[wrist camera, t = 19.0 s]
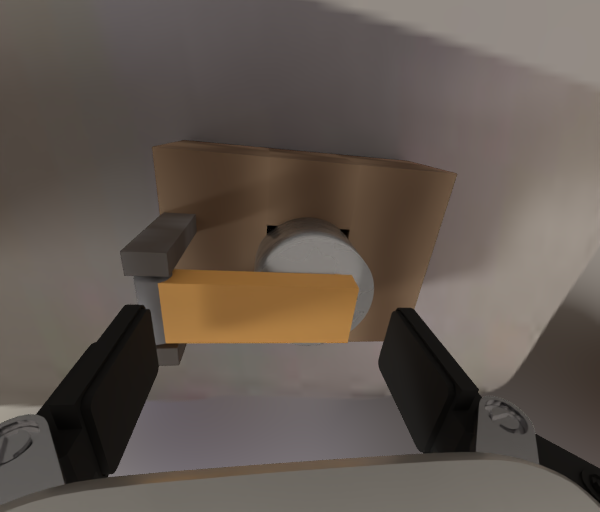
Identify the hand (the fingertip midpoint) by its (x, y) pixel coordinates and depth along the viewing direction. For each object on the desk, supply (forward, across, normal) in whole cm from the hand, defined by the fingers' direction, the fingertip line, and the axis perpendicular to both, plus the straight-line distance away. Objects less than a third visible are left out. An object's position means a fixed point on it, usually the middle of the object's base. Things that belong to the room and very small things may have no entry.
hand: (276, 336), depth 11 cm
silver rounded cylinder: (+12, -2, 0) cm, 12 cm away
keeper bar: (+3, +1, 0) cm, 3 cm away
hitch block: (+12, -2, 0) cm, 12 cm away
